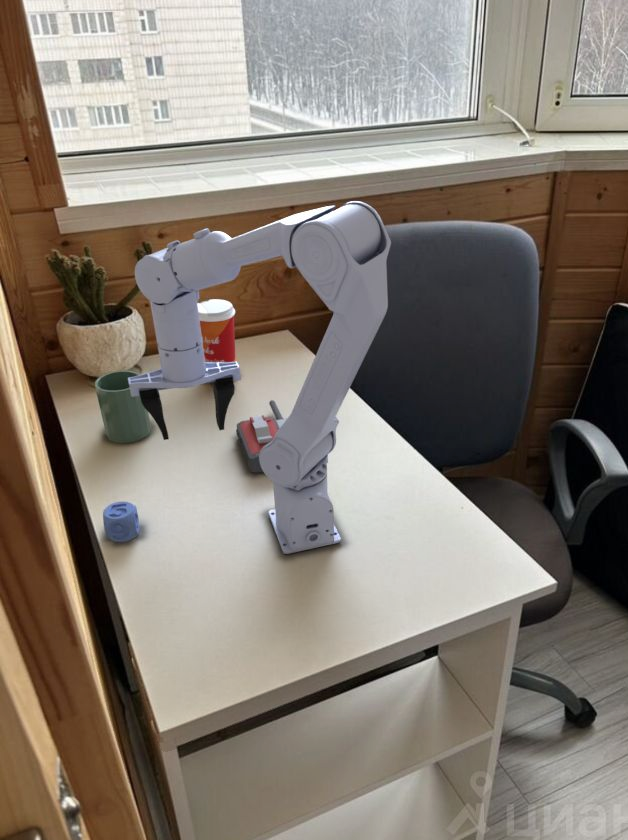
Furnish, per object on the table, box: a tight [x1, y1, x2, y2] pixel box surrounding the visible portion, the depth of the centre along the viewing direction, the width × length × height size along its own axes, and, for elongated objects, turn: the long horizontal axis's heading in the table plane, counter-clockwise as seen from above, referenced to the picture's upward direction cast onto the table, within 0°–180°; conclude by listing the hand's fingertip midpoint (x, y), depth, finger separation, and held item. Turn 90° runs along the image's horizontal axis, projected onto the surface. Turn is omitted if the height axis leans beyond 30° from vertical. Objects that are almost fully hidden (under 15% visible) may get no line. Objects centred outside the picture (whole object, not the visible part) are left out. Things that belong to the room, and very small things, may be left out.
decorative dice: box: [102, 500, 140, 543], centre depth 98 cm, size 4×4×4 cm
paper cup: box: [197, 298, 237, 363], centre depth 133 cm, size 8×8×14 cm
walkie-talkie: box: [235, 399, 287, 474], centre depth 117 cm, size 9×4×20 cm
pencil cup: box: [94, 370, 152, 444], centre depth 118 cm, size 7×7×10 cm
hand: (193, 431), depth 101 cm, fingers open, 7 cm apart
